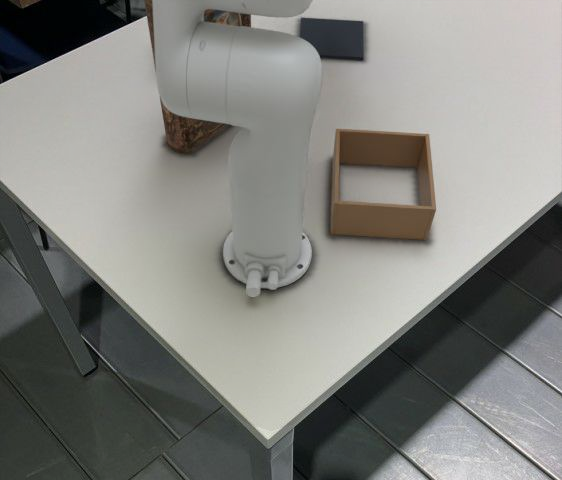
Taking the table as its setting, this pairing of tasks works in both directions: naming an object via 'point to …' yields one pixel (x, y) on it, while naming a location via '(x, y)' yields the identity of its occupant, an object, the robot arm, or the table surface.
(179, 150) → the book
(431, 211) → the cardboard box
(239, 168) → the robot arm
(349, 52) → the rubber mat
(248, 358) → the table surface
